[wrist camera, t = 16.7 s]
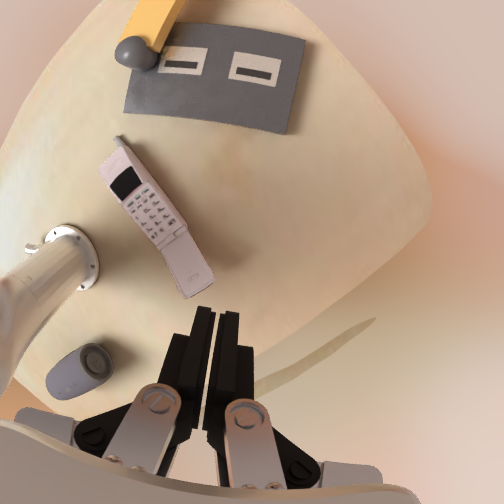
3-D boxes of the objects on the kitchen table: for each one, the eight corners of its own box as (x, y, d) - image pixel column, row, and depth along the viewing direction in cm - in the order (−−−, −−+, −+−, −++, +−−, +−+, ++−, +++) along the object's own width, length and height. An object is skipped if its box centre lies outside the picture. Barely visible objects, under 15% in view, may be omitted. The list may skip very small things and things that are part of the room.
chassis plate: (129, 113, 33) (122, 112, 30) (150, 27, 27) (144, 22, 25) (283, 135, 34) (285, 134, 32) (303, 44, 29) (306, 39, 27)
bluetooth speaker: (79, 383, 57) (66, 409, 48) (54, 360, 54) (37, 385, 45) (122, 359, 51) (106, 393, 42) (91, 330, 48) (70, 362, 39)
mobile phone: (186, 301, 38) (75, 163, 30) (192, 281, 44) (96, 158, 35) (219, 281, 37) (104, 132, 28) (222, 262, 42) (123, 132, 34)
